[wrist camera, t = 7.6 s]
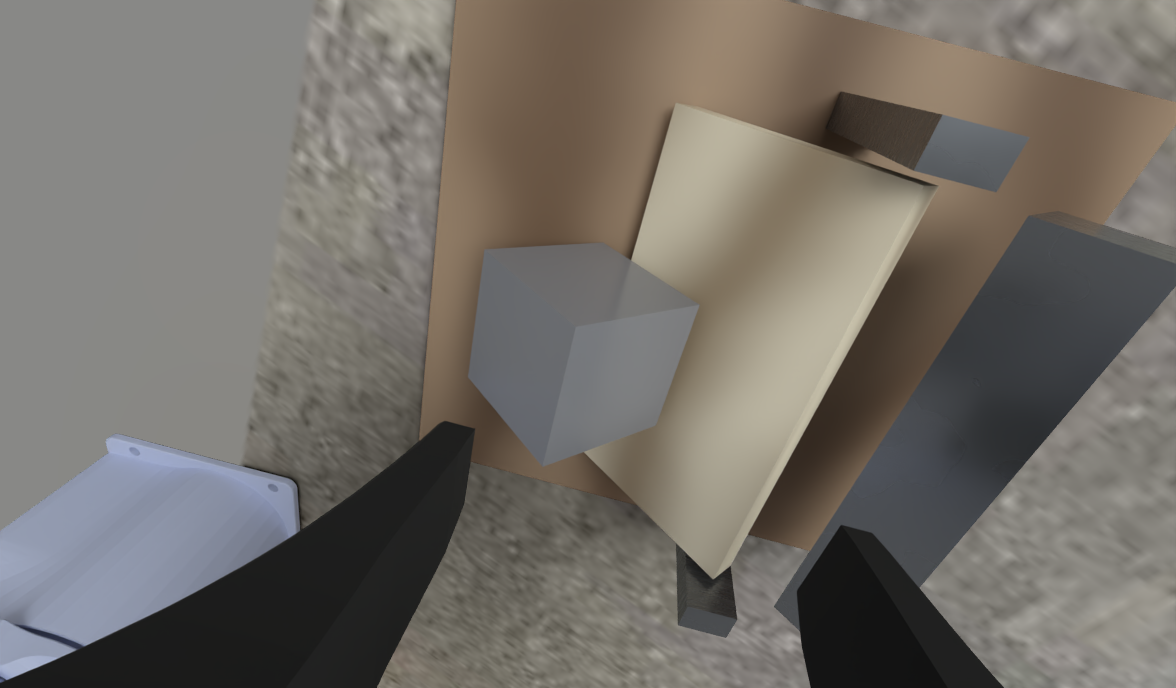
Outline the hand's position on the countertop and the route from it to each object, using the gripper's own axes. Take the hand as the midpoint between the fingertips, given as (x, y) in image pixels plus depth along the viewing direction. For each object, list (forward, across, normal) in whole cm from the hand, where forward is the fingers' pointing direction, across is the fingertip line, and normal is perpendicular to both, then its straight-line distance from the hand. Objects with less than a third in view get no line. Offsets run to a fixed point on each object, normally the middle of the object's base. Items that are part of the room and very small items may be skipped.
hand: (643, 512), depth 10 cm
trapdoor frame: (+10, -2, 0) cm, 11 cm away
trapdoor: (+9, -6, 0) cm, 11 cm away
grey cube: (+8, +1, 0) cm, 8 cm away
